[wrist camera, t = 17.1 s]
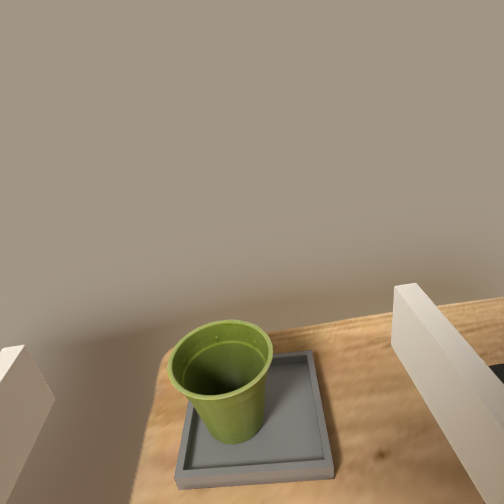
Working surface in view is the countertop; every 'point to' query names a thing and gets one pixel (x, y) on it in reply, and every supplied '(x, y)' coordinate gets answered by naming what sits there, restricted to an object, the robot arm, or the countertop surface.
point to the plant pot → (224, 376)
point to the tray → (264, 436)
